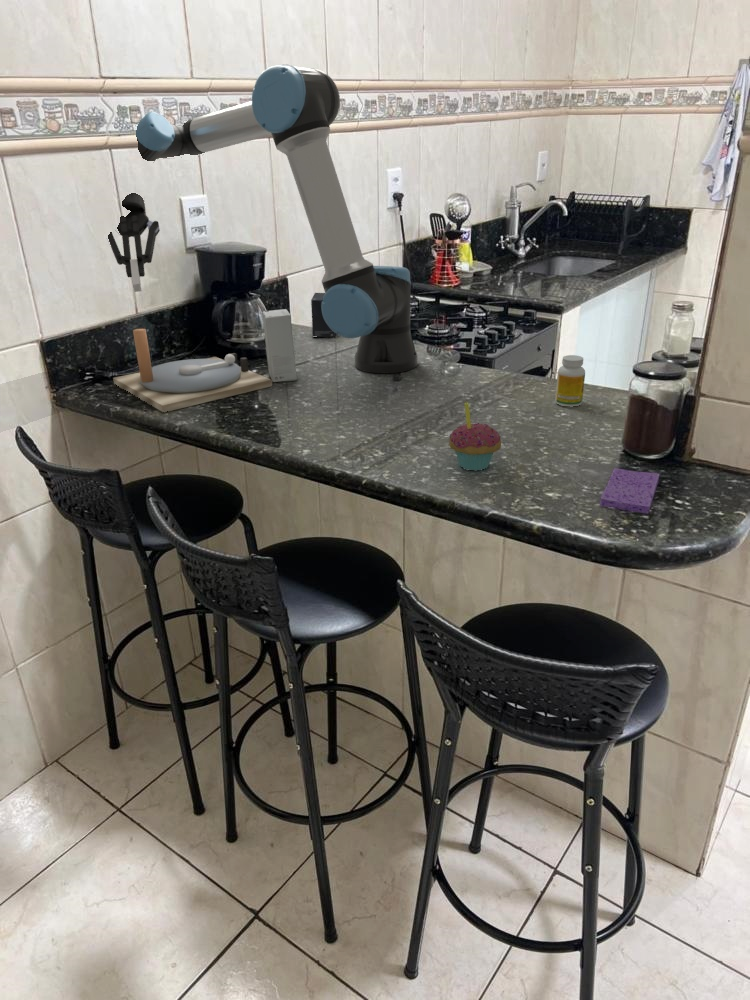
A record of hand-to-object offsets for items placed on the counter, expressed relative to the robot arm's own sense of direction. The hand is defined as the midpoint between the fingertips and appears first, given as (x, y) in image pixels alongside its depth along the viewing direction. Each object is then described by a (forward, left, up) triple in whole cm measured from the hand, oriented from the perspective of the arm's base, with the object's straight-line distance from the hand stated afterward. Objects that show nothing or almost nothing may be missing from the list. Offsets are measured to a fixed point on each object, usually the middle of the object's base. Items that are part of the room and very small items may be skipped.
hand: (137, 287), depth 162 cm
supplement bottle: (-75, -56, -21) cm, 96 cm away
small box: (+8, -55, -21) cm, 60 cm away
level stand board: (-11, -5, -21) cm, 24 cm away
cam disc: (-11, -5, -19) cm, 22 cm away
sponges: (-107, -30, -22) cm, 113 cm away
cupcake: (-84, -19, -21) cm, 89 cm away
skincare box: (-19, -23, -21) cm, 37 cm away
